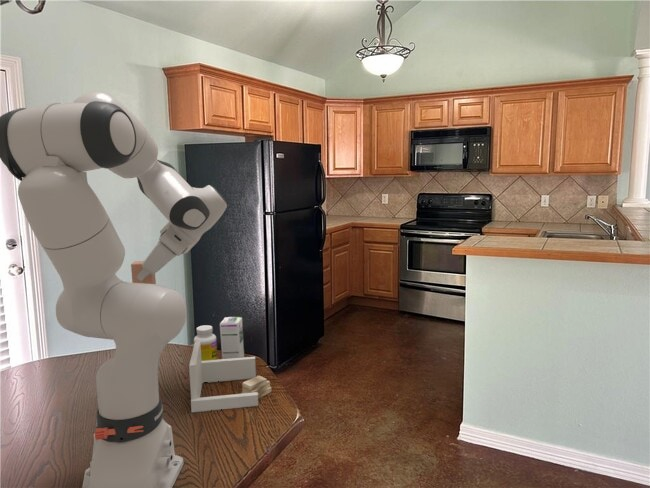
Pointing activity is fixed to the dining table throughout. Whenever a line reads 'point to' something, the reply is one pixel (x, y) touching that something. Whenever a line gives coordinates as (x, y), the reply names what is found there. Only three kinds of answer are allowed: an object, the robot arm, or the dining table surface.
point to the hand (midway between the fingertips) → (141, 276)
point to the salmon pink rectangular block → (136, 269)
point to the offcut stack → (257, 386)
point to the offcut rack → (220, 372)
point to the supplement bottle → (207, 342)
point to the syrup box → (232, 338)
